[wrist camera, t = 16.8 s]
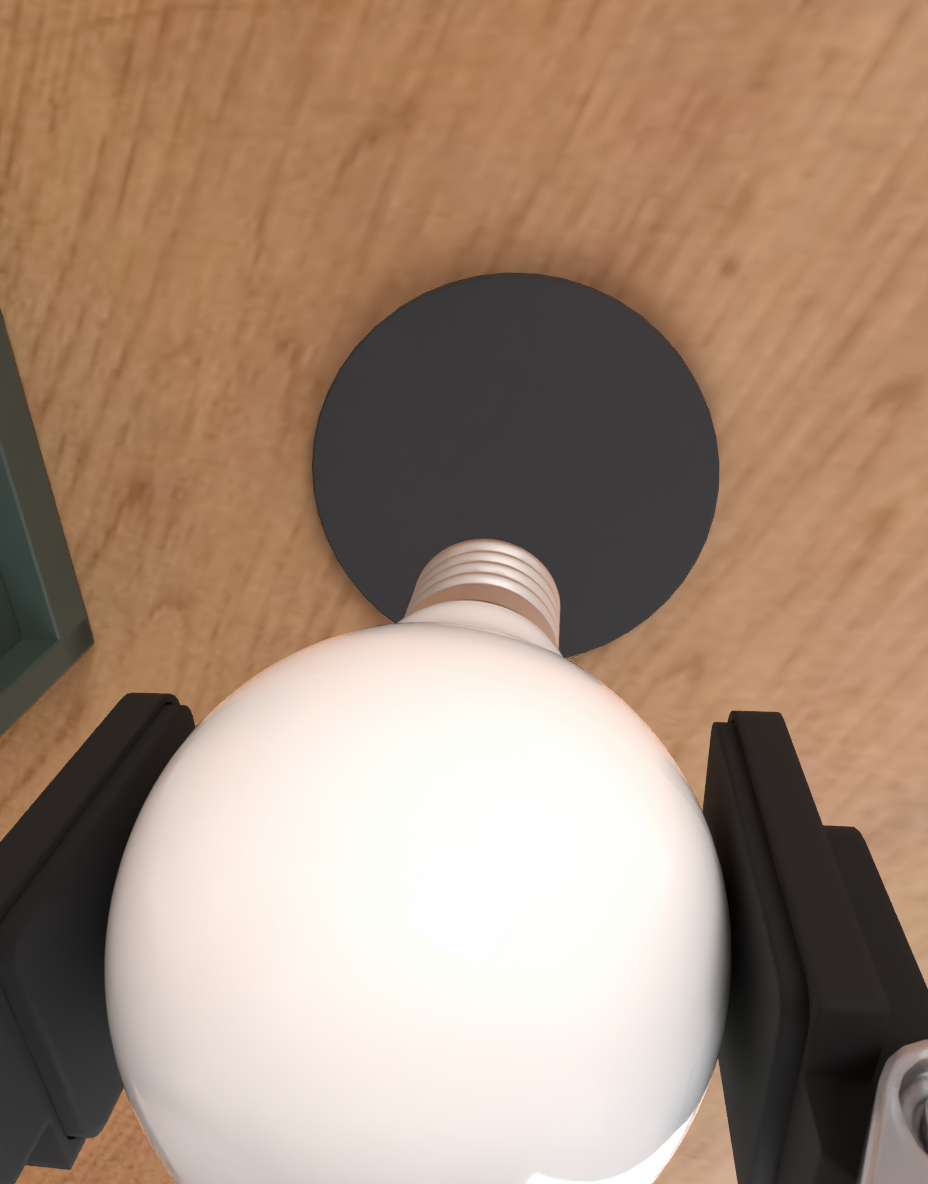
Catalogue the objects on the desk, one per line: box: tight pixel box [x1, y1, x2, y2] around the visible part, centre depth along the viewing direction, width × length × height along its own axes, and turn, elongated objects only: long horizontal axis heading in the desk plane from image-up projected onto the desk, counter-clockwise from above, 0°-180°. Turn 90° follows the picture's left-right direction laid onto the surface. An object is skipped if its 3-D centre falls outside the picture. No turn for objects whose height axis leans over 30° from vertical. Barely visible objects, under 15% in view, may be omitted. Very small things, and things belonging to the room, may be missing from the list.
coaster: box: [312, 273, 719, 658], centre depth 21 cm, size 10×10×1 cm
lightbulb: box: [104, 539, 733, 1184], centre depth 11 cm, size 6×6×11 cm
